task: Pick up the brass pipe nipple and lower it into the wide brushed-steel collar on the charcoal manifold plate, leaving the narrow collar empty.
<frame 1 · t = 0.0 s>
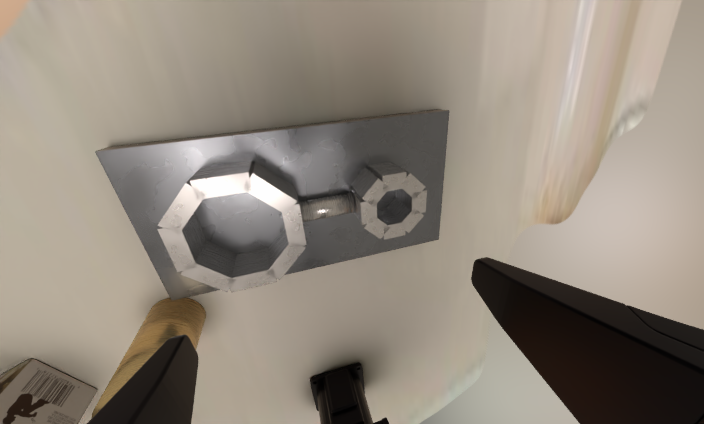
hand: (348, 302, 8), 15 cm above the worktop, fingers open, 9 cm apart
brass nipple: (178, 316, 23), on the worktop
coffee box: (24, 398, 23), on the worktop
manifold: (307, 199, 22), on the worktop
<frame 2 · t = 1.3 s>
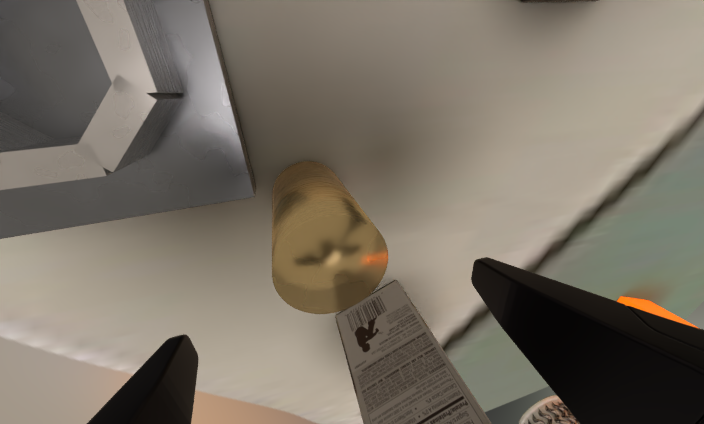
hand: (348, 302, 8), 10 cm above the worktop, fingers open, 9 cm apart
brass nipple: (308, 194, 17), on the worktop
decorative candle: (538, 410, 43), on the worktop
coffee box: (383, 324, 24), on the worktop
orange juice: (613, 321, 37), on the worktop
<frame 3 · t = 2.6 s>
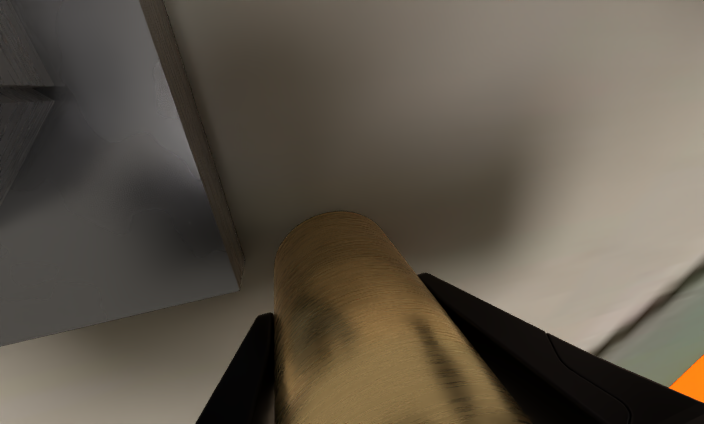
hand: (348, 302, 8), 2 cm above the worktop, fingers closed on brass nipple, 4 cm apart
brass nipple: (334, 264, 10), on the worktop, touching gripper
orange juice: (693, 373, 30), on the worktop
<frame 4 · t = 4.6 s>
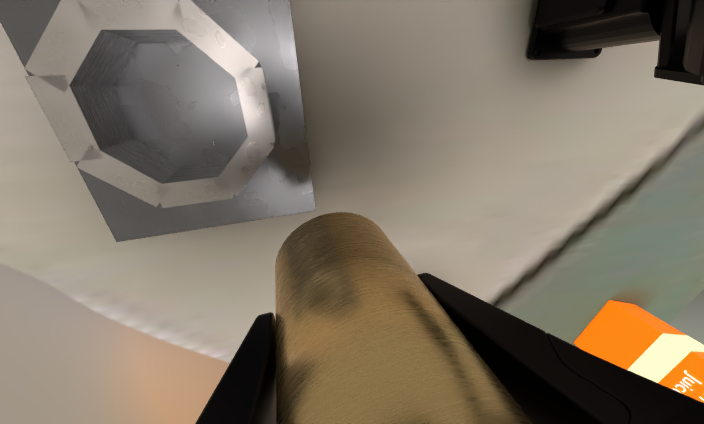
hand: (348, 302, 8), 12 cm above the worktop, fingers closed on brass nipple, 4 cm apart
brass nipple: (335, 265, 10), point 10 cm above the worktop, touching gripper
manifold: (164, 0, 13), on the worktop
orange juice: (602, 322, 41), on the worktop
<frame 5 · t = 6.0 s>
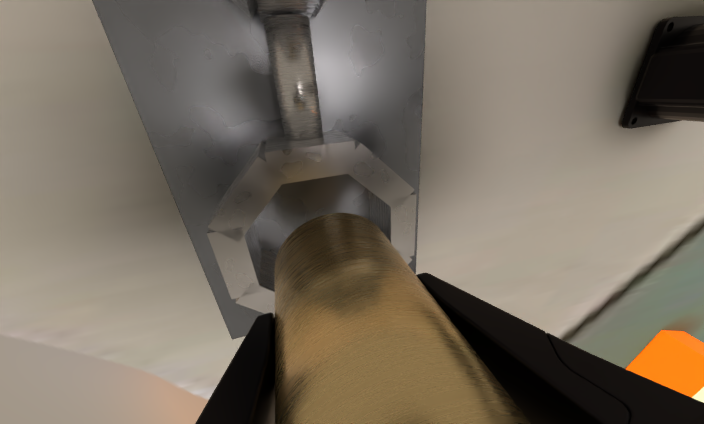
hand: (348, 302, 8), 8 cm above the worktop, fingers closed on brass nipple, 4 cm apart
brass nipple: (335, 265, 10), point 6 cm above the worktop, touching gripper
manifold: (296, 113, 13), on the worktop
orange juice: (651, 350, 41), on the worktop
when the fingers open (5 cm above the worktop, at t = 6.9 s): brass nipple drops 2 cm, resting on manifold.
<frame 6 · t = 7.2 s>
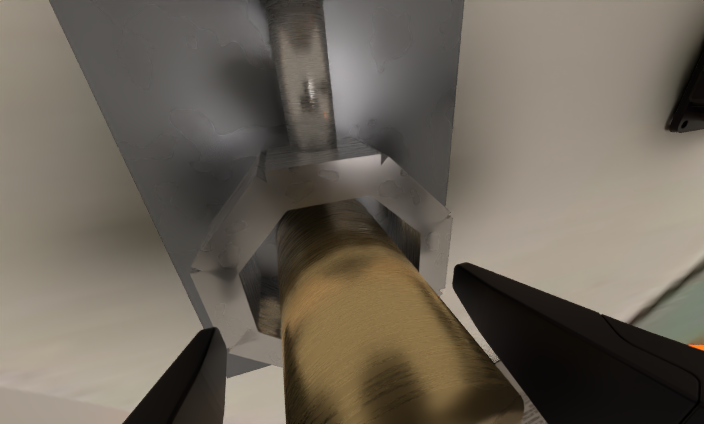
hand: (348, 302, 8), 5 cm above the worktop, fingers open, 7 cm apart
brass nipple: (327, 239, 11), point 2 cm above the worktop, touching manifold
coffee box: (488, 389, 26), on the worktop
manifold: (303, 117, 11), on the worktop
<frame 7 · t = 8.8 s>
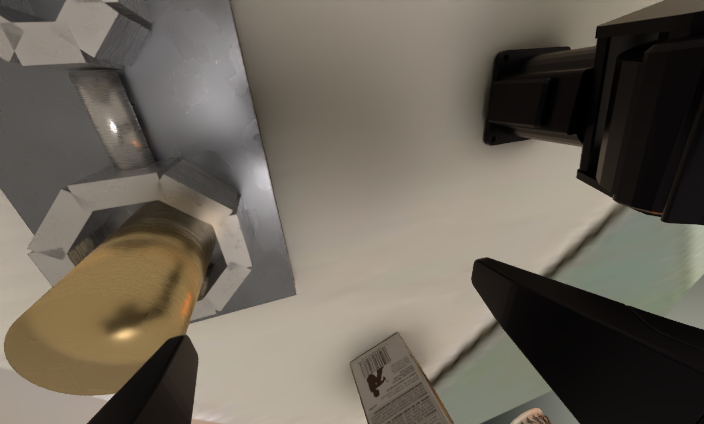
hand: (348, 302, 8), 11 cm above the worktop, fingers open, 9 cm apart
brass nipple: (176, 232, 15), point 1 cm above the worktop, touching manifold
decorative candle: (521, 421, 49), on the worktop
coffee box: (387, 364, 29), on the worktop
manifold: (147, 142, 14), on the worktop
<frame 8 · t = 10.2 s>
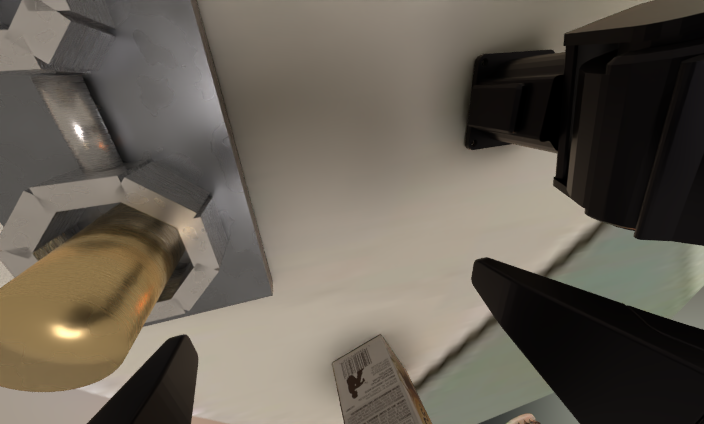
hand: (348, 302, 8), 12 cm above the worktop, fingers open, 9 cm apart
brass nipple: (148, 232, 16), point 1 cm above the worktop, touching manifold
coffee box: (371, 366, 30), on the worktop
manifold: (120, 144, 15), on the worktop
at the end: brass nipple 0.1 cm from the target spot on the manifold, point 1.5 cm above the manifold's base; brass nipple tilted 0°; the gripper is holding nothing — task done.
